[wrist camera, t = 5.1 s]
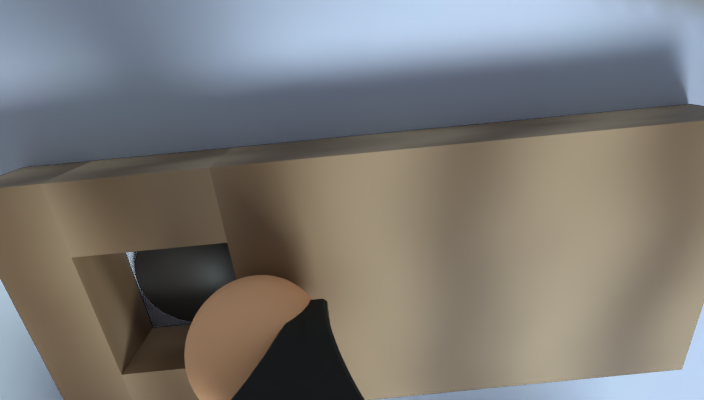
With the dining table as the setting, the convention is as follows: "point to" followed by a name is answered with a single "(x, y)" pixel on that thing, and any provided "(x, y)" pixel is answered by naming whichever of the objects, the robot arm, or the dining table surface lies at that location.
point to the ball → (237, 332)
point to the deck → (378, 251)
